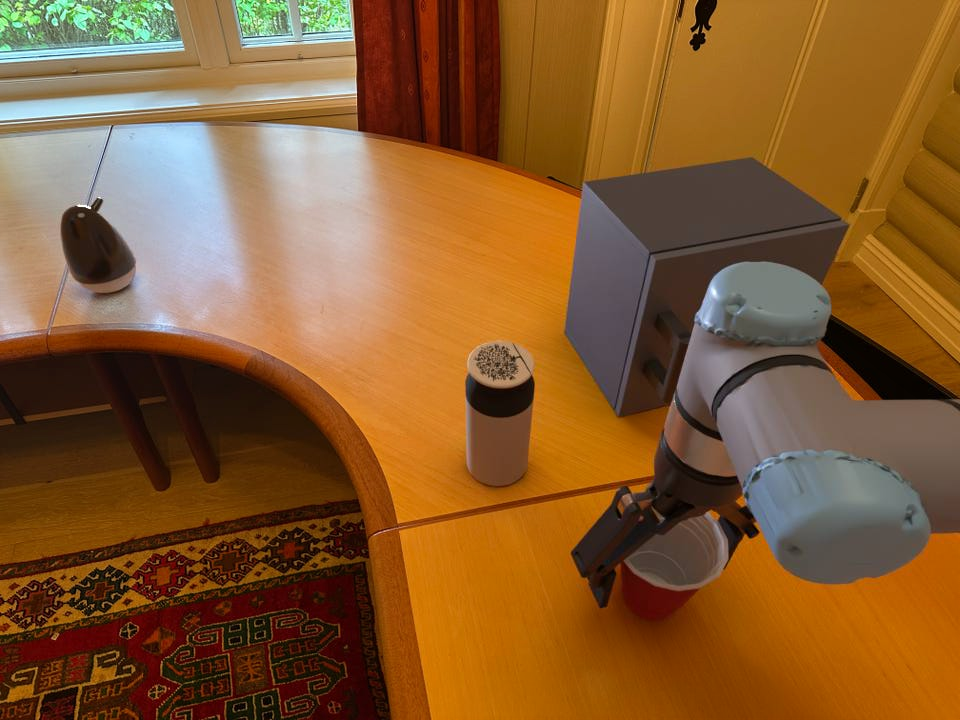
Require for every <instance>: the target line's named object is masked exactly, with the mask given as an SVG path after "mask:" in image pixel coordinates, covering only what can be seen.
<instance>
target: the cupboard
mask: <svg viewBox="0 0 960 720" xmlns="http://www.w3.org/2000/svg"><path fill="white" fill-rule="evenodd" d="M578 212H579V213H578V221H577V227H576V228H577V229H576V237H575V245H574V253H573V260H572V266H571V268H572V269H571V275H570V276H571V277H570V283H569V291H568V299H567V307H566V315H565V322H564V323H565V324H564V332H563V333H564V335H565V336H566V338H567V339H568V341H569V342H570V344H571V346H572V347H573V349H574V350H575V352H576V354H577V355H578V357H579V359H581V361H582V363H583V364H584V366H585V368H586V369H587V371H588V373H589V374H590V375H591V377H592V378H593V380H594V382H595V383H596V385H597V386H598V388H599V390H600V391H601V393H602V394H603V396H604V397H605V399H606V401H607V402H608V404H609V405H610V407H611V408H612V410H613V411H615V409H616V405H617V400H618V396H619V392H620V387H621V383H622V379H623V374H624V370H625V365H626V361H627V357H628V352H629V348H630V344H631V339H632V335H633V331H634V326H635V322H636V317H637V313H638V309H639V304H640V300H641V296H642V291H643V287H644V283H645V278H646V274H647V269H648V265H649V261H650V256H651V255H652V254H658V253H663V252H669V251H675V250H680V249H686V248H691V247H697V246H702V245H708V244H713V243H719V242H724V241H730V240H735V239H741V238H746V237H752V236H758V235H763V234H769V233H774V232H780V231H785V230H791V229H796V228H802V227H807V226H813V225H818V224H824V223H829V222H835V221H840V220H843V218H842V216H840V215H839V214H838V213H835V211H833V210H832V209H830V208H828V207H827V206H825V204H823V203H821V202H820V201H818V200H816V199H815V198H814V197H812V196H811V195H809V194H807V193H806V192H805V191H803V190H802V189H800V188H799V187H797V186H796V185H795V184H793V183H791V182H790V181H789V180H787V179H786V178H784V177H783V176H782V175H779V174H778V173H777V172H775V171H774V170H772V169H771V168H769V167H768V166H766V165H765V164H763V163H762V162H760V161H759V160H758V159H756V158H754V157H753V156H749V157H744V158H743V157H742V158H736V159H729V160H722V161H717V162H709V163H702V164H696V165H688V166H681V167H676V168H675V167H674V168H669V169H661V170H654V171H648V172H641V173H634V174H627V175H620V176H615V177H607V178H600V179H599V178H598V179H594V180H593V179H592V180H587V181H583V183H582V190H581V198H580V205H579V211H578Z"/></svg>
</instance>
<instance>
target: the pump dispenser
mask: <svg viewBox="0 0 960 720" xmlns="http://www.w3.org/2000/svg"><path fill="white" fill-rule="evenodd" d="M103 199H104V198H102V197H96V198H95V200H94V201H93V202H92V204H91V205H90V206H87V205H83V204H81V205H80V204H77V205H76V204H75V205H72V206H70V207H68V208H67V209H66V210H64V212H63V213H62V216H61V219H60V224H59V225H60V226H59V231H60V243H61V249H62V254H63V257H64V260H65V263H66V265H67V268H68V271H69V273H70V275H71V277H72V278H73V280H74V281H76V282H78V283H79V284H80V286H82V287H84V288H85V289H87V290H88V291H91V292H94V293H100V294H109V293H113V292H118V291H120V290H122V289H124V288H125V287H127V286H129V284H131V283H132V281H133V280H134V278H135V276H136V271H137V265H136V264H137V258H136V256H135V253H134V252H133V250H132V248H131V247H130V245H129V244H128V242H127V241H126V240H125V238H124V237H123V236H122V234H121V233H120V232H119V230H118V229H117V228H116V227H115V226H114V225H113V224H112V223H111V222H110V221H109V220H108V219H107V218H106V217H105V216H104V215H103V214H101V213H100V209H101V208H102V205H103V204H104V200H103Z"/></svg>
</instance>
